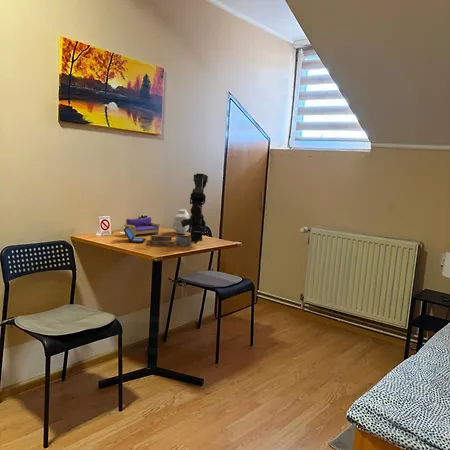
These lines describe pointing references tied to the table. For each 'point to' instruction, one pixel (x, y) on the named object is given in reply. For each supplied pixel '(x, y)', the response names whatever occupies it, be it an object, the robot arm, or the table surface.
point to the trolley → (183, 240)
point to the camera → (177, 221)
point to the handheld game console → (131, 238)
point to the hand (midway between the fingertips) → (194, 241)
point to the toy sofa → (142, 226)
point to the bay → (161, 241)
